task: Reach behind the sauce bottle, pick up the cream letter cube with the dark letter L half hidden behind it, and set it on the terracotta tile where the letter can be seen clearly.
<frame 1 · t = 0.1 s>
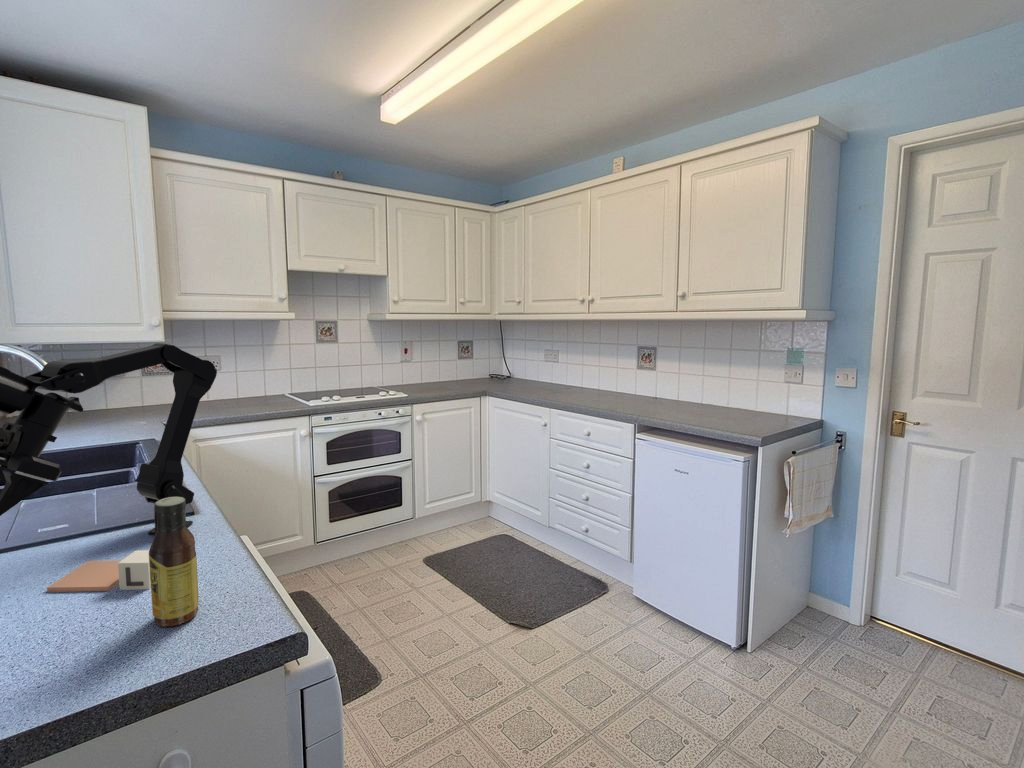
cream letter cube: (143, 582, 94), on the countertop
terracotta tile: (98, 577, 96), on the countertop
sauce bottle: (176, 619, 84), on the countertop
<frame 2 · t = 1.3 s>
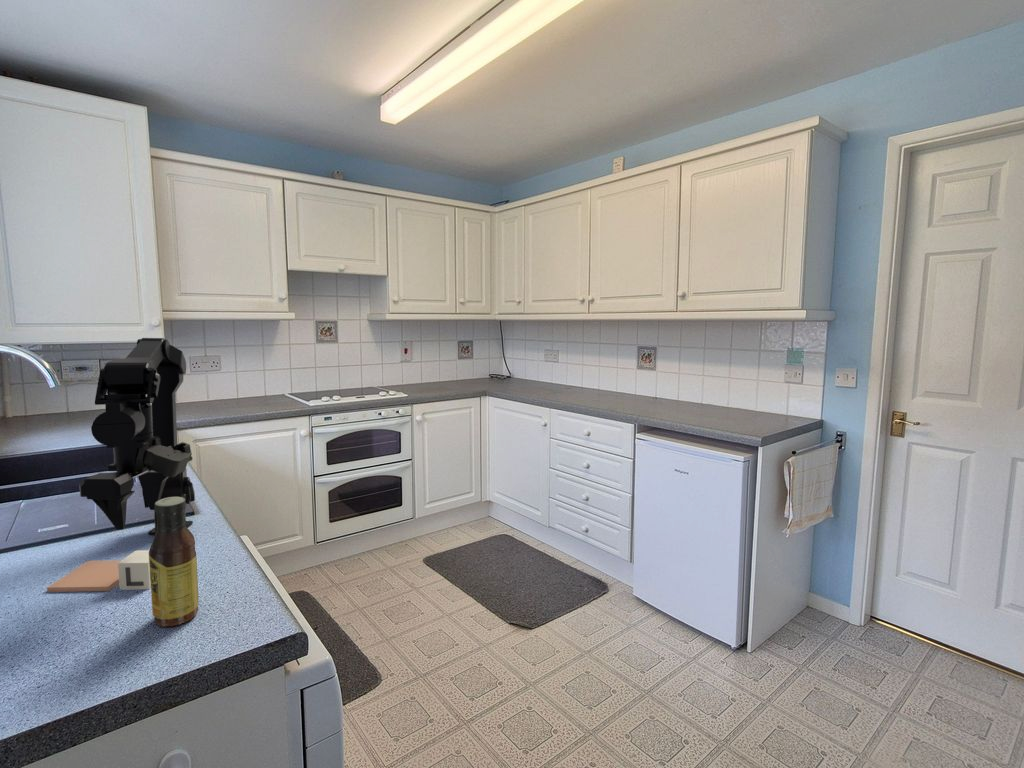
hand: (138, 519, 93), 12 cm above the countertop, tool pointing down, fingers open, 9 cm apart
nothing on the countertop moved.
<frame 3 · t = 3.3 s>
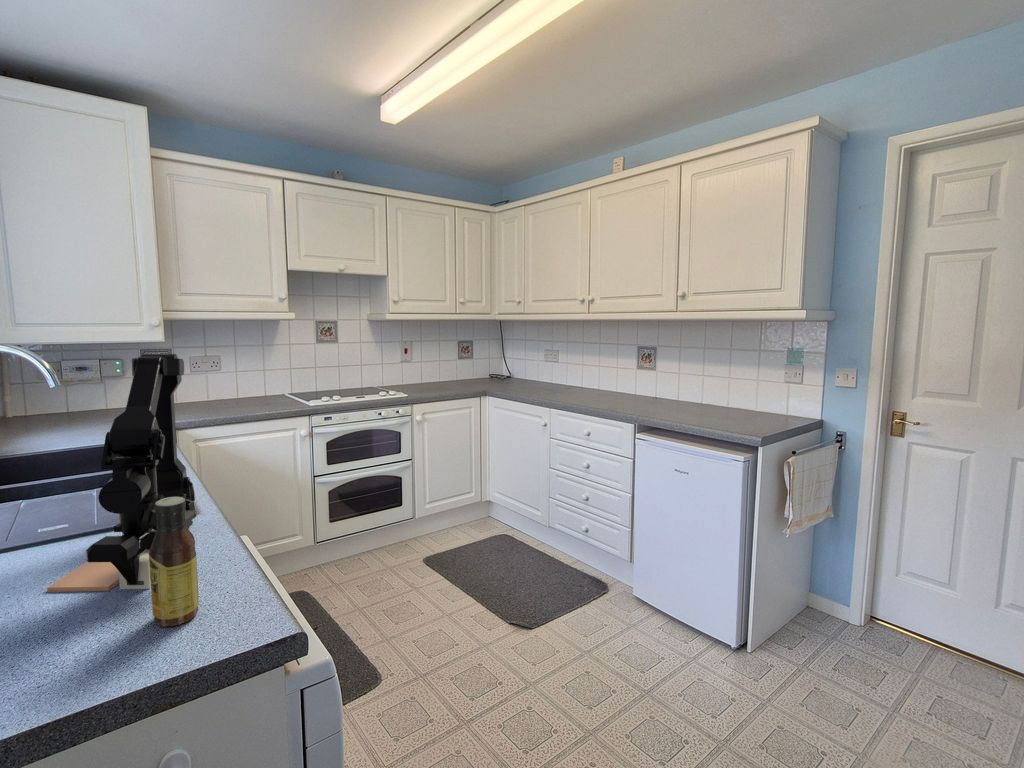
hand: (143, 576, 94), 1 cm above the countertop, tool pointing down, fingers closed on cream letter cube, 5 cm apart
cream letter cube: (143, 581, 94), on the countertop, touching gripper
everything else where it was.
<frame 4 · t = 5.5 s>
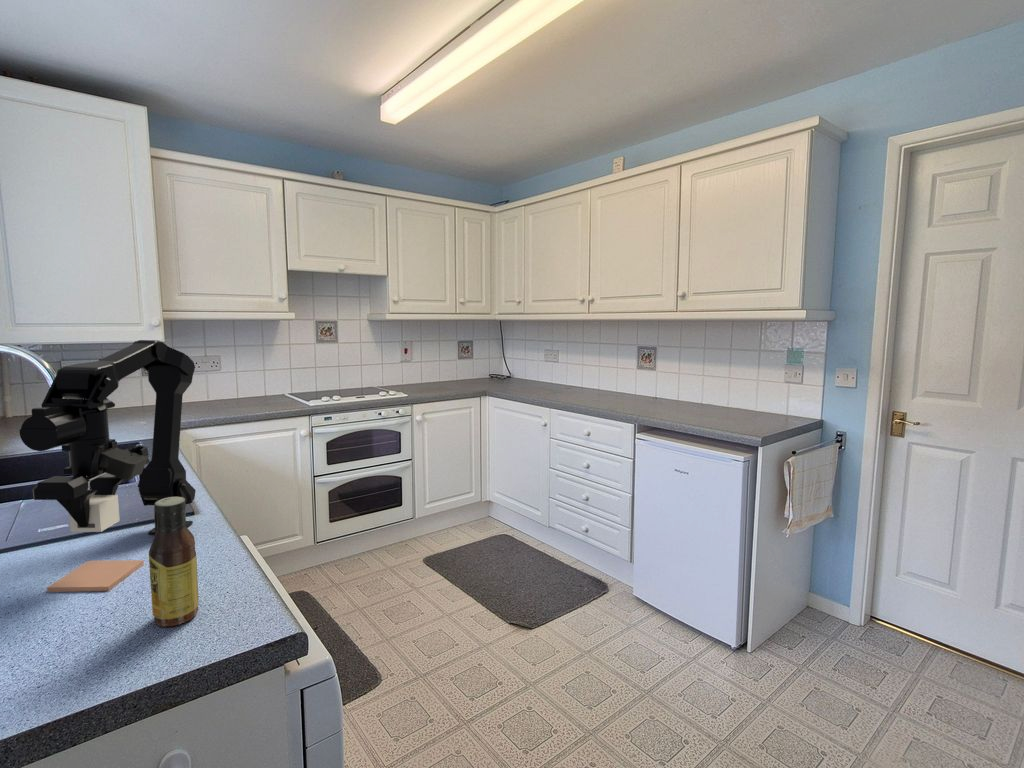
hand: (95, 520, 94), 11 cm above the countertop, tool pointing down, fingers closed on cream letter cube, 5 cm apart
cream letter cube: (95, 526, 94), point 10 cm above the countertop, touching gripper
everything else where it was.
when the fingers open (3 cm above the countertop, at t = 7.7 s): cream letter cube drops 1 cm, resting on terracotta tile.
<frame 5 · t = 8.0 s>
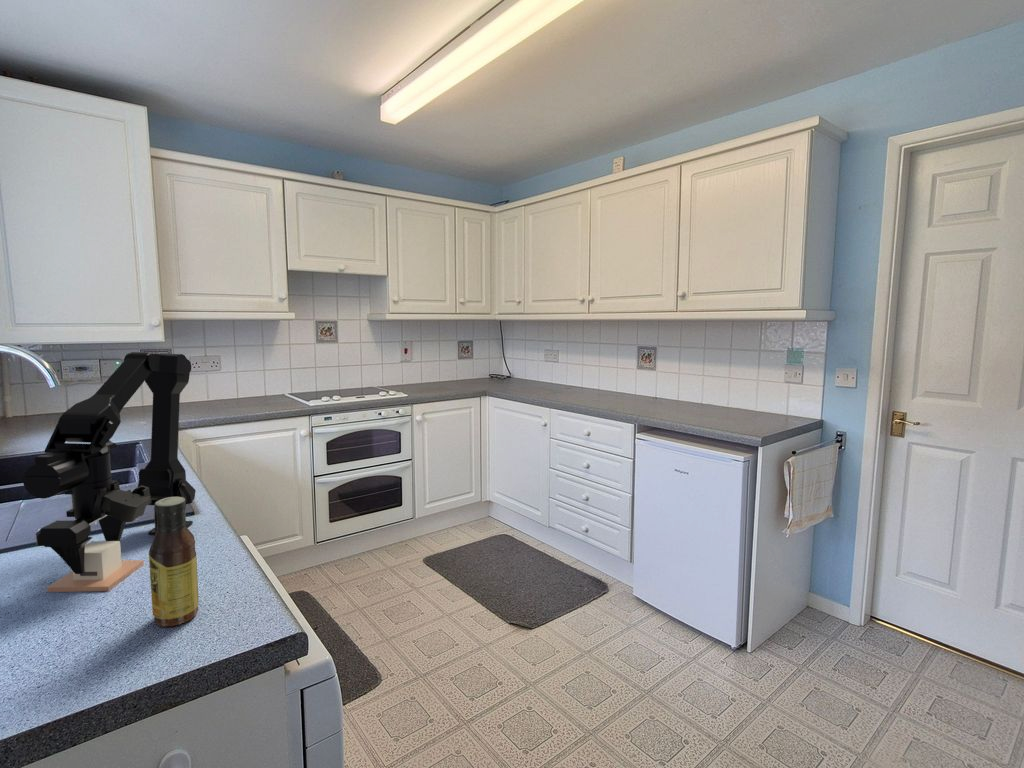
hand: (97, 561, 95), 3 cm above the countertop, tool pointing down, fingers open, 9 cm apart
cream letter cube: (98, 572, 96), point 1 cm above the countertop, touching terracotta tile
everything else where it was.
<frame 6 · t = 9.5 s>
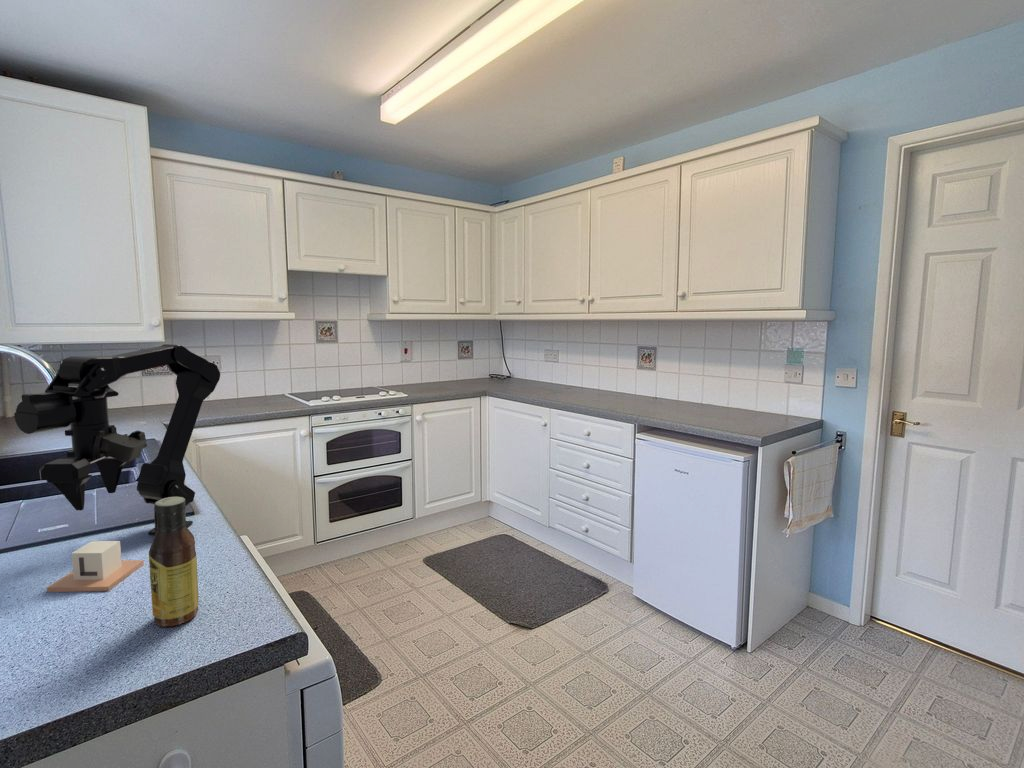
hand: (96, 501, 101), 12 cm above the countertop, tool pointing down, fingers open, 9 cm apart
nothing on the countertop moved.
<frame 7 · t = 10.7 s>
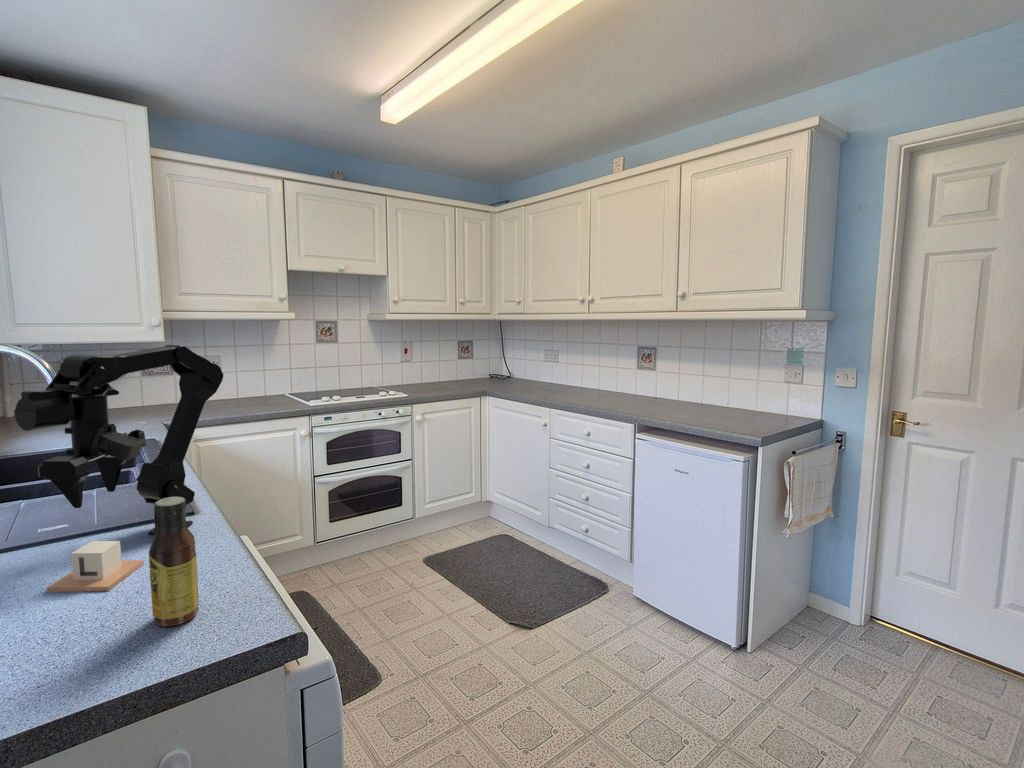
hand: (95, 499, 102), 12 cm above the countertop, tool pointing down, fingers open, 9 cm apart
nothing on the countertop moved.
at the end: cream letter cube inside the target area on the terracotta tile (0.1 cm from its centre), point 0.8 cm above the terracotta tile's base; the gripper is holding nothing; sauce bottle moved 0.2 cm from its start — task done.
